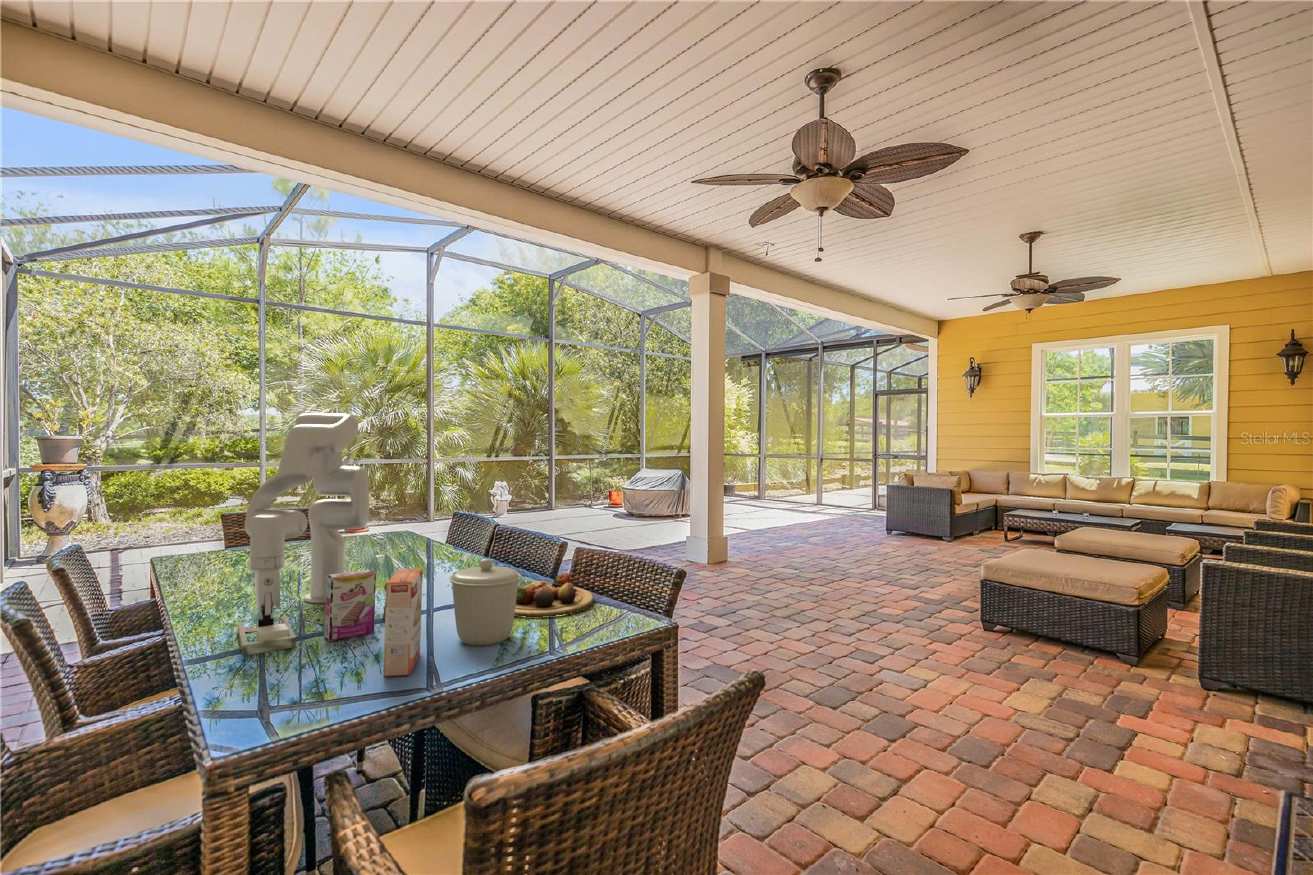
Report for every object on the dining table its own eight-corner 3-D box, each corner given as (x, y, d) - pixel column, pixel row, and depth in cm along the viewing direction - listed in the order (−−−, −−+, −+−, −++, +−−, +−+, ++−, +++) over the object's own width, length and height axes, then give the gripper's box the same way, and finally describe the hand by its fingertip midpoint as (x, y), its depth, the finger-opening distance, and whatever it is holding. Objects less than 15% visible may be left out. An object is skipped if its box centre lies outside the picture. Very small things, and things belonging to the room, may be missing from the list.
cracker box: (411, 676, 134) (413, 581, 134) (382, 678, 133) (384, 582, 133) (422, 653, 148) (423, 567, 148) (395, 655, 147) (397, 568, 147)
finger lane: (285, 623, 170) (285, 614, 170) (295, 646, 151) (296, 636, 151) (237, 629, 163) (237, 620, 163) (242, 655, 145) (242, 645, 144)
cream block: (284, 638, 158) (284, 623, 158) (288, 645, 153) (288, 629, 153) (256, 643, 154) (256, 627, 154) (260, 650, 149) (260, 633, 149)
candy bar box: (329, 642, 154) (331, 578, 154) (323, 638, 158) (324, 574, 158) (375, 633, 162) (376, 571, 162) (368, 629, 166) (369, 568, 166)
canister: (496, 655, 148) (498, 568, 148) (433, 646, 153) (434, 562, 153) (532, 632, 165) (534, 555, 165) (474, 625, 171) (476, 550, 171)
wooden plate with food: (545, 586, 216) (545, 563, 216) (614, 601, 198) (614, 576, 198) (469, 608, 191) (469, 581, 191) (540, 627, 172) (540, 598, 172)
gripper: (287, 566, 153) (285, 639, 153) (281, 556, 165) (279, 624, 165) (251, 569, 148) (249, 645, 148) (247, 559, 160) (246, 628, 160)
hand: (265, 633), depth 157 cm, fingers closed
